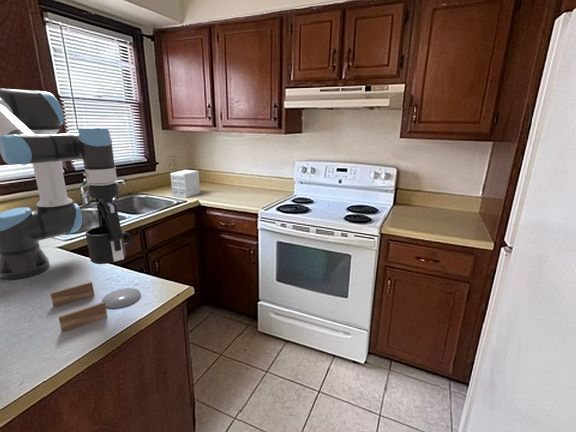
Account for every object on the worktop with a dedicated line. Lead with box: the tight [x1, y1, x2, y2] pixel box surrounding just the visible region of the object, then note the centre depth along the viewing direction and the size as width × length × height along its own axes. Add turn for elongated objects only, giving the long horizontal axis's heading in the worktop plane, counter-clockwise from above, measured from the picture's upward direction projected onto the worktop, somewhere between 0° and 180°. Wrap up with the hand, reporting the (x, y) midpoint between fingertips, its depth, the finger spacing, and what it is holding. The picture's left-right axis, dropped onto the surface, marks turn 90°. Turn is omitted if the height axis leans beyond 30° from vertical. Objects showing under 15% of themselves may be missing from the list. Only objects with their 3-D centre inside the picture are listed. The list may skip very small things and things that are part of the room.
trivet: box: [101, 287, 141, 309], centre depth 101 cm, size 11×11×1 cm
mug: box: [85, 225, 133, 265], centre depth 96 cm, size 9×12×9 cm
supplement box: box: [169, 169, 201, 199], centre depth 239 cm, size 17×13×18 cm
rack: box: [50, 281, 108, 333], centre depth 94 cm, size 17×11×4 cm, turn 42°
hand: (114, 254), depth 97 cm, fingers closed on mug, 9 cm apart
